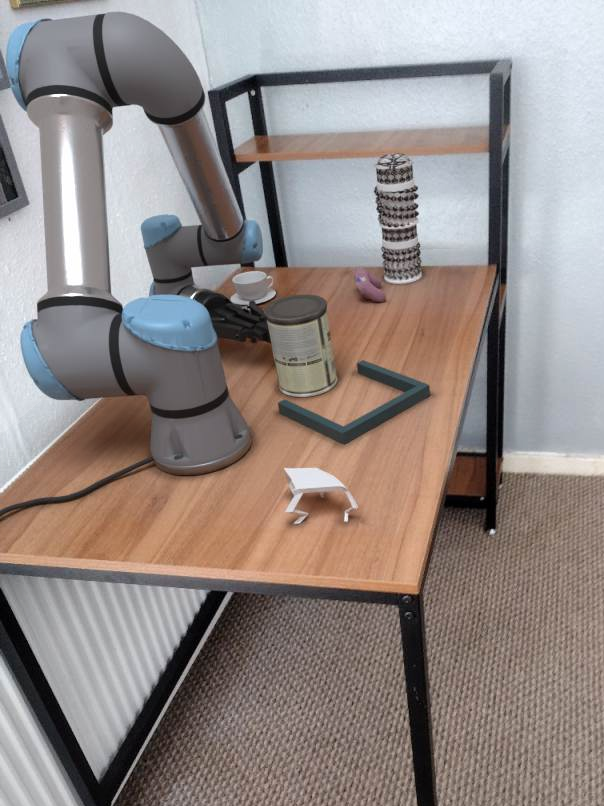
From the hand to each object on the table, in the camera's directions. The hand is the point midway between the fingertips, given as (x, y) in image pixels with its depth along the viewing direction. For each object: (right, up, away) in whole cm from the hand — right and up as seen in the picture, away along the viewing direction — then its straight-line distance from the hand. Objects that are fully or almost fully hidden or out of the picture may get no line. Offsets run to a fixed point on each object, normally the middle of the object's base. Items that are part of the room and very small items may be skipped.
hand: (282, 338), depth 136 cm
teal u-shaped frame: (+13, -12, -7) cm, 19 cm away
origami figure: (+9, -30, -30) cm, 43 cm away
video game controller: (+15, +16, +31) cm, 38 cm away
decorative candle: (+22, +22, +39) cm, 50 cm away
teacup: (-11, +17, +37) cm, 42 cm away
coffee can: (+4, -8, +1) cm, 9 cm away
